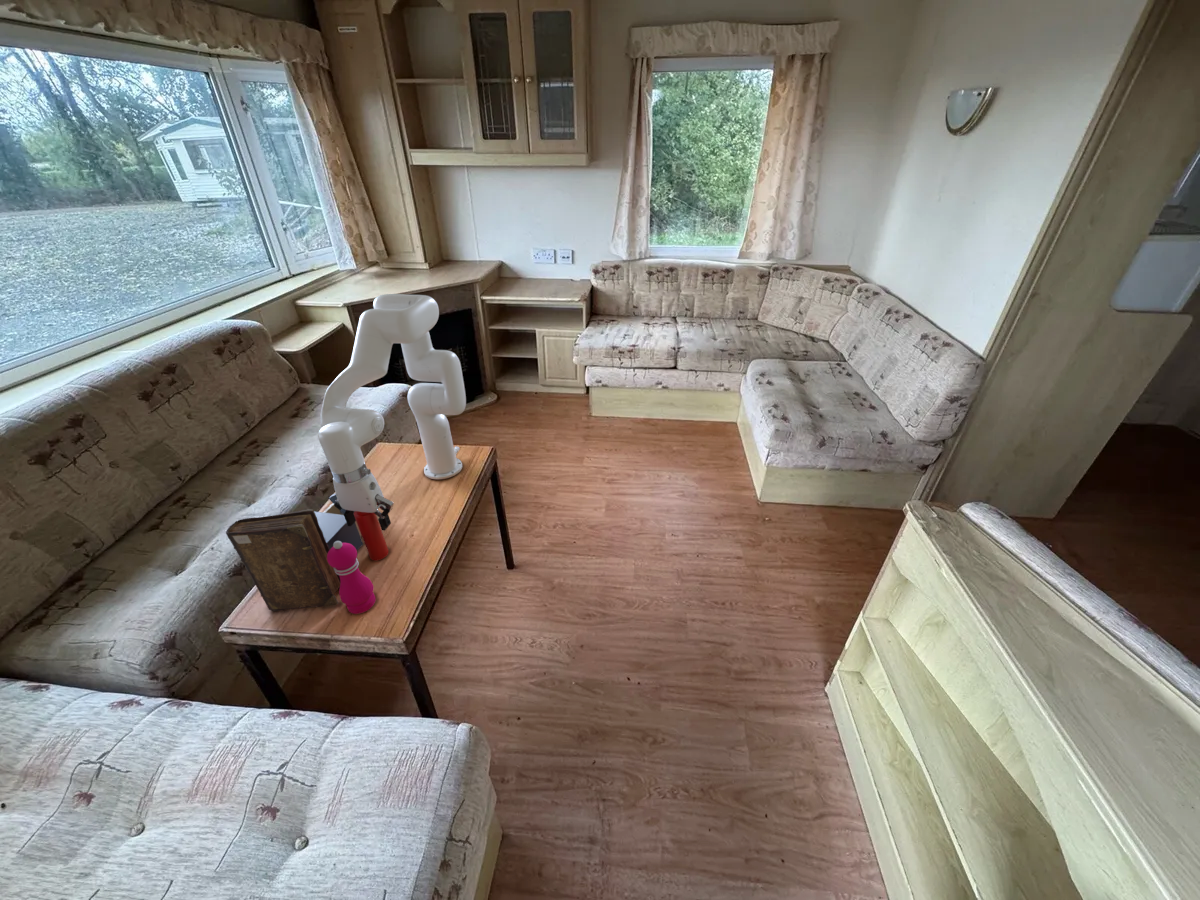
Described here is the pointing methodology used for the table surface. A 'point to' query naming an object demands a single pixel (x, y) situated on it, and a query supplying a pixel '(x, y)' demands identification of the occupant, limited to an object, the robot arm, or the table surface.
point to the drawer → (335, 510)
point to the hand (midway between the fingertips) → (369, 524)
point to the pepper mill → (351, 578)
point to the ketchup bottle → (371, 535)
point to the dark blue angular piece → (338, 530)
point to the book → (287, 559)
